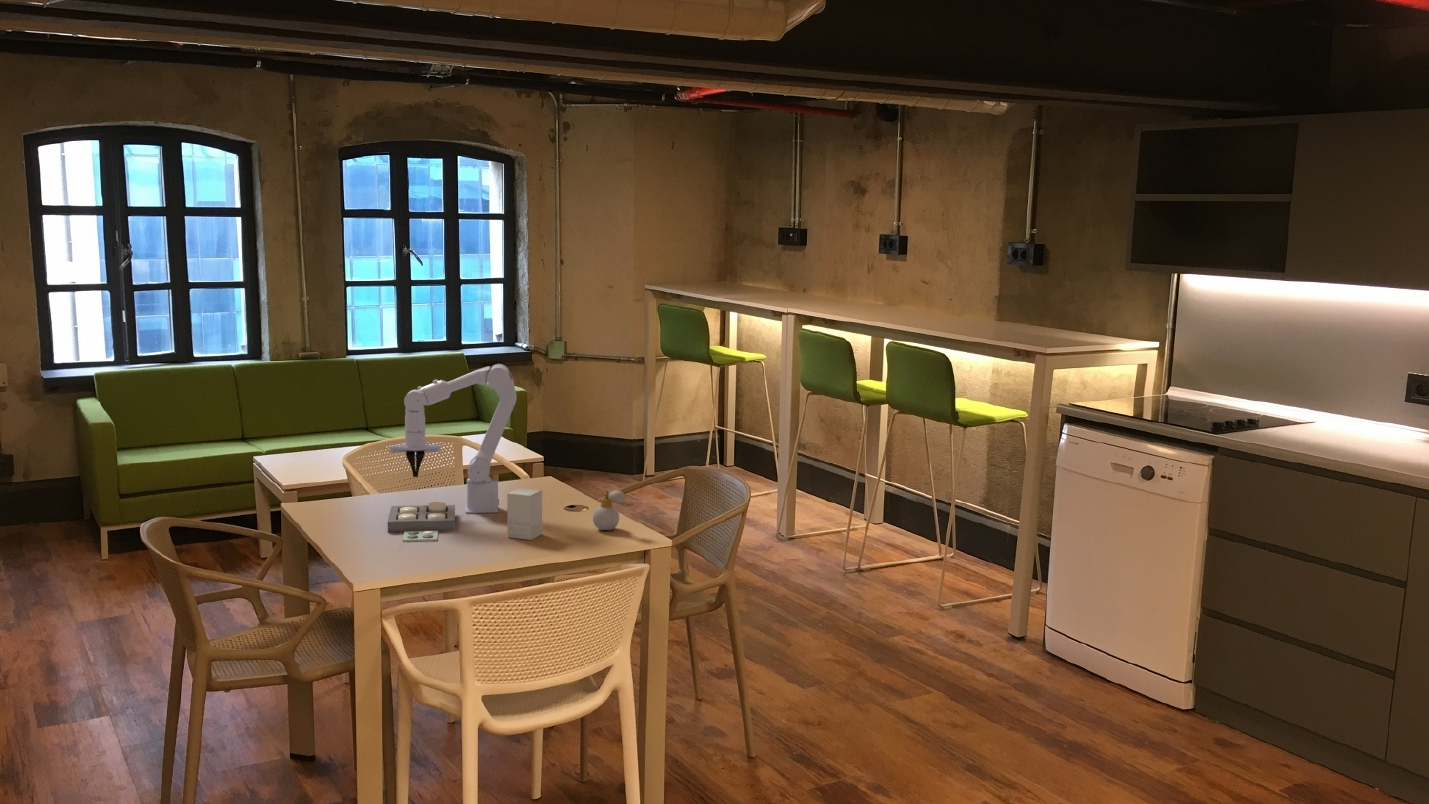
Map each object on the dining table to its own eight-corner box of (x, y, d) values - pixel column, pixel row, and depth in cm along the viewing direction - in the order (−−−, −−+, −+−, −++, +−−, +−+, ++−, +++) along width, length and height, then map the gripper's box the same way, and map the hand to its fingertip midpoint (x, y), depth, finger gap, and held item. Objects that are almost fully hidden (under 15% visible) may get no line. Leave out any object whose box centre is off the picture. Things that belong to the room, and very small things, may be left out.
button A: (416, 522, 332) (416, 513, 332) (415, 526, 327) (415, 517, 327) (398, 522, 331) (398, 513, 330) (397, 527, 326) (397, 518, 326)
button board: (455, 514, 344) (455, 504, 344) (454, 530, 327) (454, 520, 327) (391, 516, 341) (391, 506, 340) (387, 532, 323) (387, 521, 323)
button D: (445, 510, 341) (445, 501, 341) (445, 514, 336) (445, 505, 336) (428, 510, 340) (428, 502, 340) (428, 514, 335) (428, 506, 335)
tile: (437, 532, 325) (437, 529, 325) (437, 540, 316) (437, 538, 316) (404, 532, 323) (404, 530, 323) (402, 541, 315) (402, 539, 314)
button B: (445, 521, 334) (445, 512, 333) (445, 526, 329) (445, 517, 329) (428, 522, 333) (428, 513, 332) (427, 526, 328) (427, 517, 328)
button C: (417, 515, 340) (417, 506, 339) (416, 519, 335) (416, 510, 335) (400, 515, 339) (400, 507, 338) (399, 520, 334) (399, 511, 334)
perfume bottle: (597, 525, 338) (598, 484, 336) (630, 528, 336) (630, 487, 334) (588, 531, 331) (589, 490, 329) (621, 534, 328) (622, 493, 327)
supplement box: (543, 534, 327) (543, 489, 325) (530, 540, 320) (530, 495, 318) (519, 531, 329) (519, 487, 327) (506, 537, 322) (506, 492, 320)
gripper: (389, 433, 339) (389, 479, 341) (440, 433, 342) (440, 478, 344) (390, 429, 346) (390, 474, 348) (440, 428, 349) (440, 473, 351)
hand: (415, 476), depth 346 cm, fingers closed
